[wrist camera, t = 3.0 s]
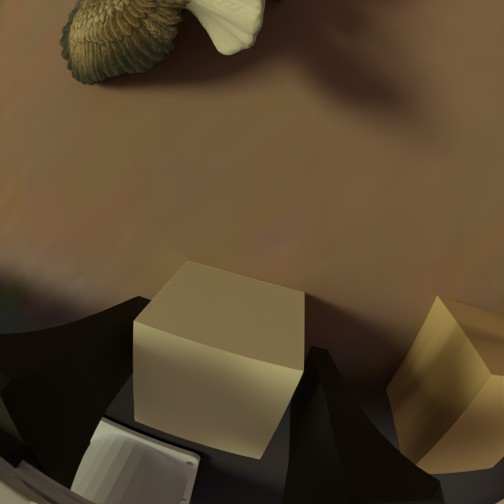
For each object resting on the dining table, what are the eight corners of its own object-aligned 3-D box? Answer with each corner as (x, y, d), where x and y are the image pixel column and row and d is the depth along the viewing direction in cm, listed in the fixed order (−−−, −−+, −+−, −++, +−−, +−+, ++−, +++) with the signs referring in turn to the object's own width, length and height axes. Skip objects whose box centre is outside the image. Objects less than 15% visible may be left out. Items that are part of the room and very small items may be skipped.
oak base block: (462, 396, 12) (491, 467, 8) (385, 387, 13) (405, 474, 8) (512, 316, 11) (566, 380, 6) (436, 294, 11) (491, 374, 6)
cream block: (272, 377, 13) (259, 459, 9) (175, 348, 13) (134, 420, 9) (304, 291, 12) (303, 371, 7) (188, 259, 12) (133, 321, 8)
